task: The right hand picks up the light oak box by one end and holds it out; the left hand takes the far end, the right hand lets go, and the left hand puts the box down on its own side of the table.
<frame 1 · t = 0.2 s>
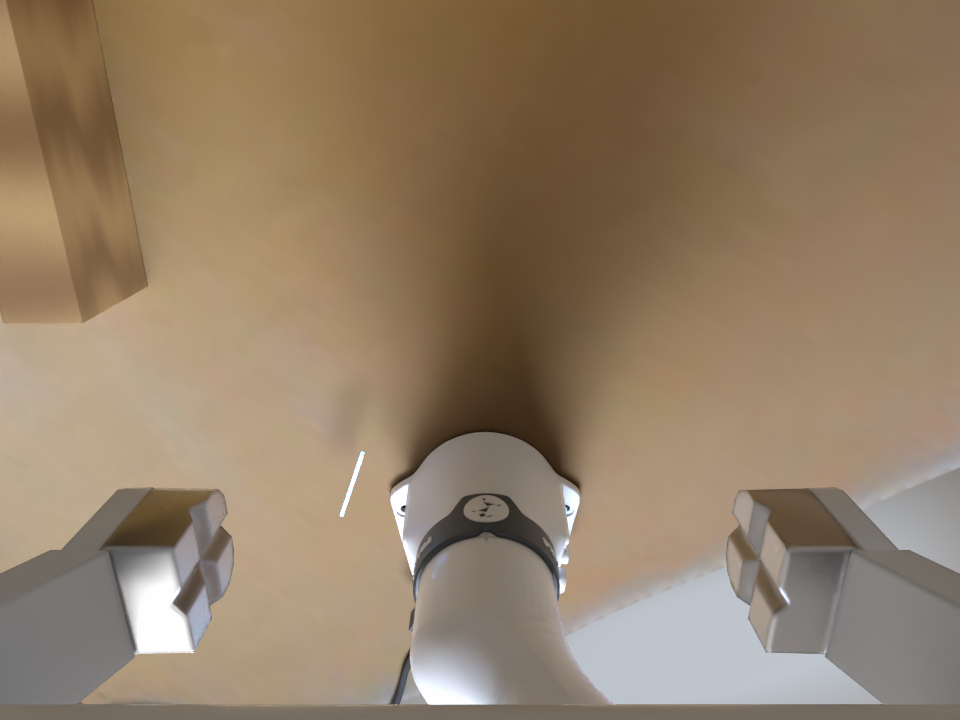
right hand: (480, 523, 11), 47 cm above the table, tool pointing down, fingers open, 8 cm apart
box: (80, 124, 53), on the table
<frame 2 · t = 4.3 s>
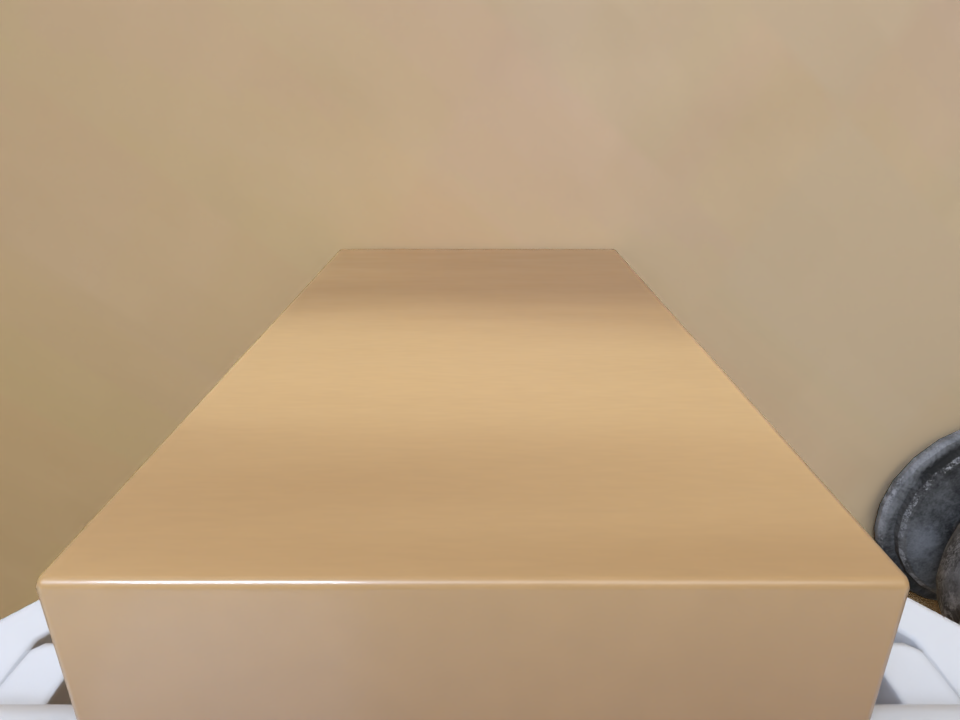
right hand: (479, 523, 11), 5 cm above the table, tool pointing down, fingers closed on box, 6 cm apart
box: (478, 712, 19), on the table, touching right hand
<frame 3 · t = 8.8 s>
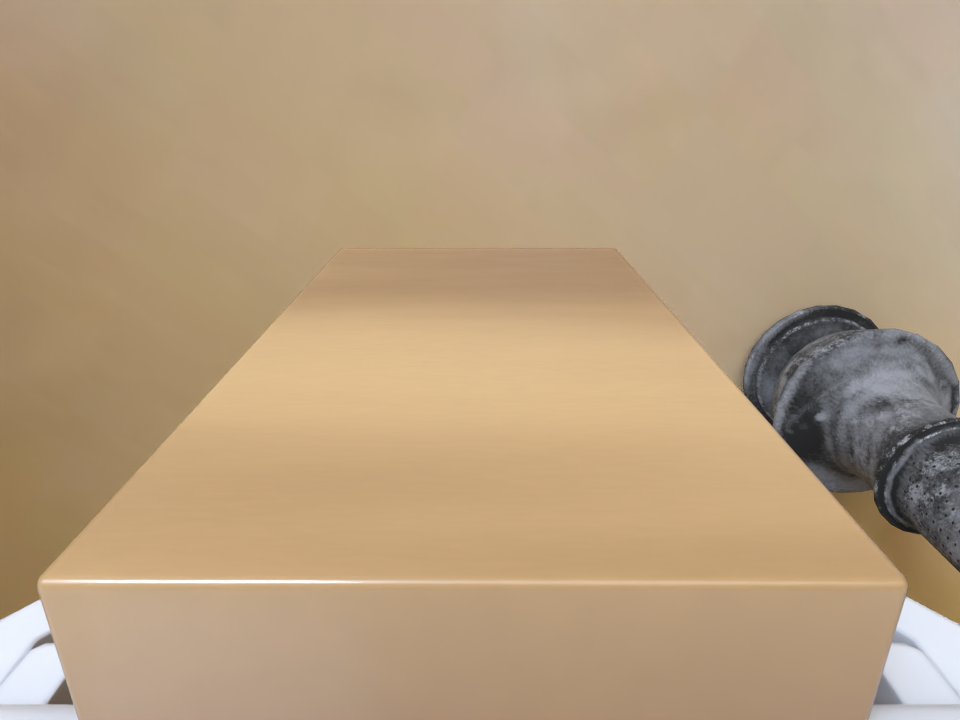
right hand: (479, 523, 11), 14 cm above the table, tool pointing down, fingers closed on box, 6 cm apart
grey chess piece: (812, 370, 25), on the table
box: (478, 710, 19), point 9 cm above the table, touching right hand, left hand
when the left hand's fingers open (8 cm above the table, at t = 18.5 s): box drops 1 cm, on the table.
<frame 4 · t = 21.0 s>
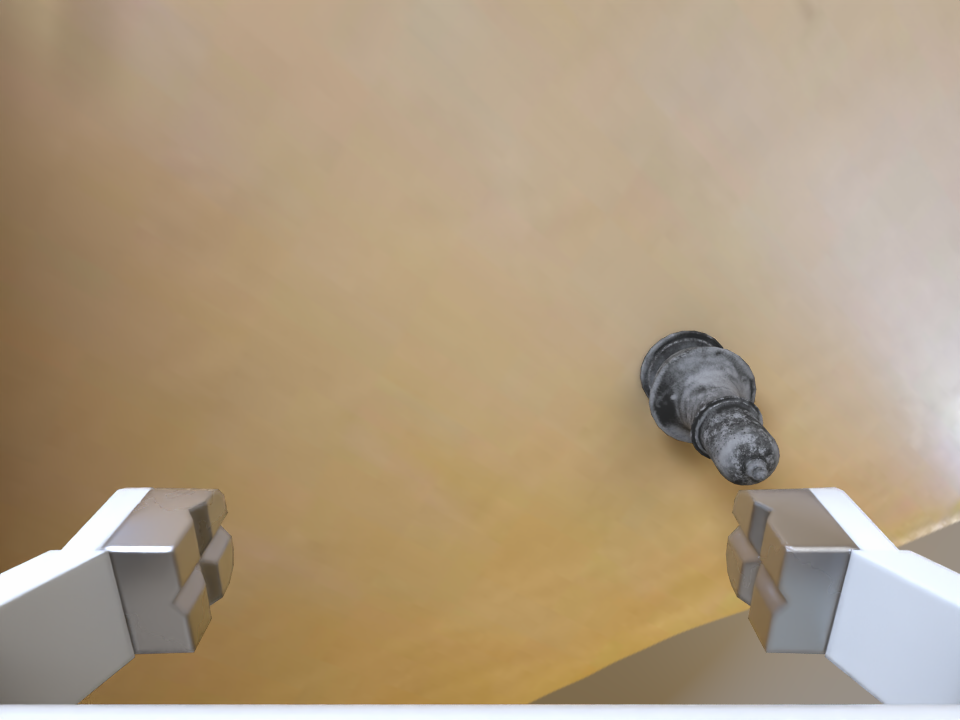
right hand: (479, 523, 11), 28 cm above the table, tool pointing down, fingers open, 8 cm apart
grey chess piece: (683, 370, 40), on the table
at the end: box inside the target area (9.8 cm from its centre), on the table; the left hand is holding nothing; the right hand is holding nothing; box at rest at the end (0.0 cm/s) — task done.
